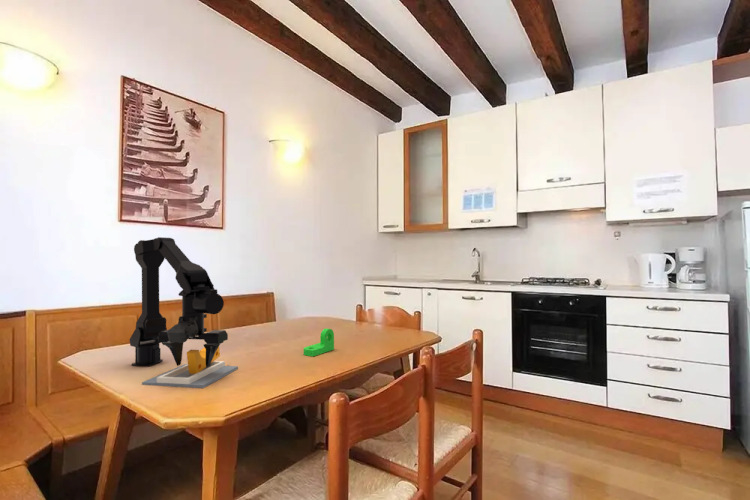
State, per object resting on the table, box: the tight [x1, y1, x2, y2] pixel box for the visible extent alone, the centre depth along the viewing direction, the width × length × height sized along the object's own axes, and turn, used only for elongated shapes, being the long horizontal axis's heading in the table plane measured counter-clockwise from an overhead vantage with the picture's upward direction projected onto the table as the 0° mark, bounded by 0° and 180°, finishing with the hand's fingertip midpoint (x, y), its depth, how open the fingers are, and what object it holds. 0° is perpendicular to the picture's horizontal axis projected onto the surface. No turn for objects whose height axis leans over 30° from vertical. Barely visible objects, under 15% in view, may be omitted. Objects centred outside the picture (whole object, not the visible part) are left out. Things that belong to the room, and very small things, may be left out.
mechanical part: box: [303, 328, 335, 357], centre depth 142 cm, size 12×6×8 cm, turn 149°
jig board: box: [141, 360, 239, 389], centre depth 112 cm, size 18×18×2 cm
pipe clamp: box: [186, 346, 221, 374], centre depth 118 cm, size 12×4×6 cm, turn 170°
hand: (193, 366), depth 112 cm, fingers open, 9 cm apart
